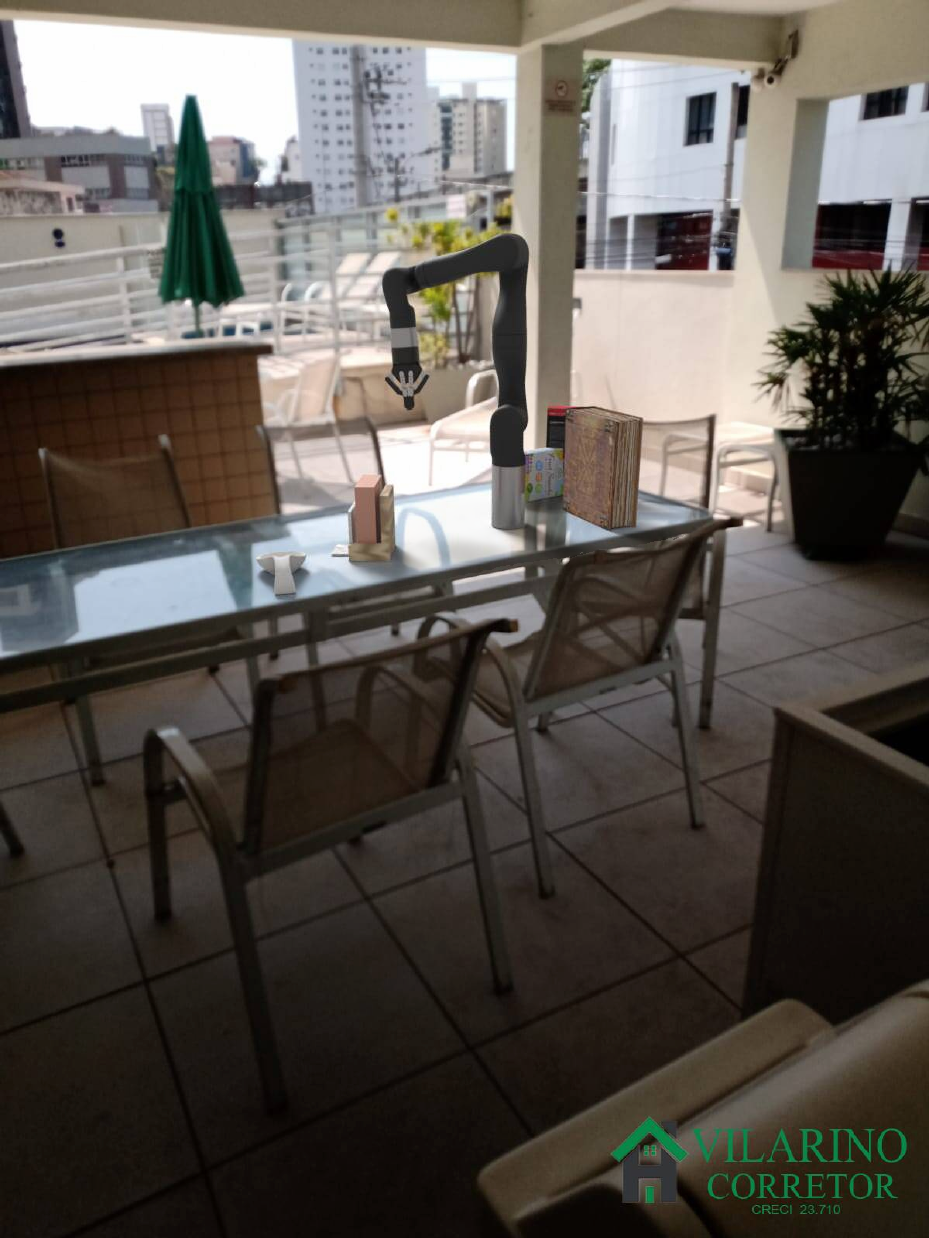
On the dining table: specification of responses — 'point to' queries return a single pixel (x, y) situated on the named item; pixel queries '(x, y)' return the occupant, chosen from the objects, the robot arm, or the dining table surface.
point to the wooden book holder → (387, 533)
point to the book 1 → (368, 508)
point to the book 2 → (602, 466)
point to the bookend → (343, 549)
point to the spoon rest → (282, 568)
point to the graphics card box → (556, 427)
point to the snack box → (543, 473)
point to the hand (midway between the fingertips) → (409, 410)
